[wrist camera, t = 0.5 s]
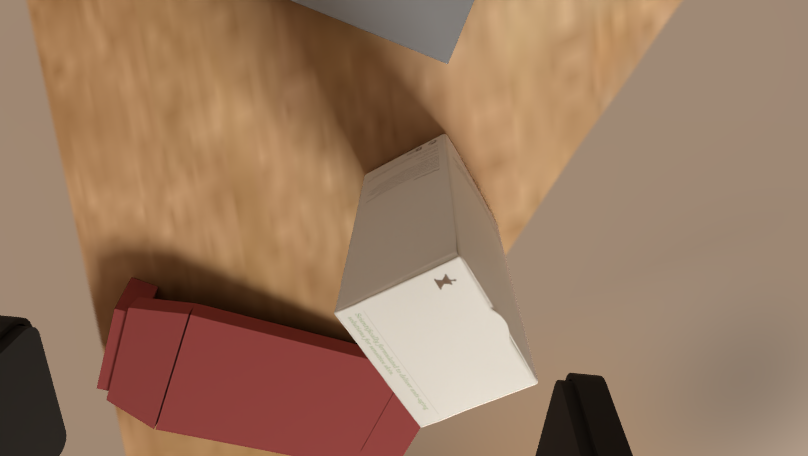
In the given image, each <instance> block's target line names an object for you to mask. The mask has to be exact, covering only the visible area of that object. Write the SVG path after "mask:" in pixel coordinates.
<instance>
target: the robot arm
mask: <svg viewBox="0 0 808 456" xmlns="http://www.w3.org/2000/svg"><path fill="white" fill-rule="evenodd" d="M65 442H66V430H65V426H64V423H63V419H62V415H61V412H60V408H59V404H58V400H57V397H56V393H55V389H54V386H53V382H52V378H51V374H50V371H49V367H48V364H47V360H46V356H45V352H44V349H43V345H42V342H41V337H40V334H39V331H38V330H37V329H36V328H35V327H32V325H31V324H30V321H28V320H27V319H26V318H21V317H11V316H1V315H0V456H59V455H60V454H61V452H62V450H63V448H64V445H65ZM536 456H633V455H632V452H631V450H630V447H629V444H628V441H627V439H626V436H625V433H624V431H623V428H622V425H621V422H620V420H619V417H618V414H617V412H616V409H615V406H614V403H613V401H612V398H611V395H610V392H609V390H608V387H607V384H606V382H605V380H604V378H603V377H602V376H597V375H587V374H577V373H569V374H568V375H567V377H566V380H565V381H564V380H557V381H556V384H555V386H554V390H553V394H552V397H551V401H550V405H549V409H548V412H547V415H546V419H545V423H544V427H543V430H542V434H541V438H540V442H539V445H538V449H537V452H536Z"/></svg>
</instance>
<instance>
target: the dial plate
mask: <svg viewBox="0 0 808 456" xmlns="http://www.w3.org/2000/svg"><path fill="white" fill-rule="evenodd" d="M291 1H293V2H296V3H298V4H301V5H303V6H306V7H308V8H311V9H313V10H316V11H318V12H321V13H323V14H325V15H328V16H330V17H333V18H335V19H338V20H340V21H343V22H345V23H348V24H350V25H353V26H355V27H358V28H360V29H363V30H365V31H367V32H370V33H372V34H375V35H377V36H380V37H382V38H385V39H387V40H390V41H392V42H395V43H397V44H400V45H402V46H404V47H407V48H409V49H412V50H414V51H417V52H419V53H422V54H424V55H427V56H429V57H432V58H434V59H437V60H439V61H441V62H444V63H446V64H448V63H449V60H450V58H451V55H452V53H453V50H454V48H455V46H456V43H457V41H458V38H459V36H460V33H461V31H462V29H463V26H464V24H465V21H466V19H467V16H468V14H469V12H470V9H471V7H472V4H473V2H474V0H291Z"/></svg>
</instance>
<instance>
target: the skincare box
mask: <svg viewBox="0 0 808 456" xmlns="http://www.w3.org/2000/svg"><path fill="white" fill-rule="evenodd" d="M334 314H335V315H336V317H337V318H338V319H339V321H340V322H341V323H342V324H343V326H344V327H345V328H346V330H347V331H348V332H349V333H350V335H351V336H352V337H353V339H354V340H355V341H356V343H357V344H358V345H359V347H360V348H361V349H362V351H363V352H364V353H365V355H366V356H367V357H368V359H369V360H370V361H371V363H372V364H373V365H374V367H375V368H376V369H377V371H378V372H379V373H380V374H381V376H382V377H383V378H384V380H385V381H386V383H387V384H388V385H389V387H390V388H391V389H392V391H393V392H394V393H395V395H396V396H397V397H398V399H399V400H400V401H401V403H402V404H403V405H404V406H405V408H406V409H407V410H408V412H409V413H410V414H411V415H412V417H413V418H414V419H415V421H416V422H417V423H418V424H419V426H420V427H425V426H427V425H430V424H433V423H436V422H438V421H441V420H444V419H446V418H449V417H451V416H454V415H456V414H459V413H461V412H463V411H466V410H469V409H471V408H474V407H477V406H479V405H482V404H485V403H487V402H490V401H493V400H495V399H498V398H501V397H503V396H506V395H509V394H511V393H514V392H516V391H519V390H522V389H525V388H527V387H530V386H533V385H536V384H537V383H538V380H537V375H536V371H535V367H534V364H533V361H532V356H531V352H530V349H529V345H528V342H527V337H526V334H525V330H524V326H523V322H522V318H521V315H520V311H519V307H518V304H517V299H516V295H515V292H514V288H513V284H512V280H511V276H510V273H509V269H508V265H507V262H506V258H505V254H504V250H503V246H502V242H501V238H500V234H499V229H498V226H497V224H496V221H495V220H494V218H493V216H492V214H491V212H490V210H489V208H488V206H487V205H486V203H485V201H484V199H483V197H482V196H481V194H480V192H479V190H478V188H477V186H476V185H475V183H474V181H473V179H472V177H471V176H470V174H469V172H468V170H467V168H466V167H465V165H464V163H463V161H462V159H461V158H460V156H459V154H458V152H457V151H456V149H455V147H454V146H453V144H452V142H451V141H450V139H449V137H448V136H447V135H446V134H442V135H440V136H438V137H436V138H434V139H432V140H430V141H429V142H427V143H425V144H423V145H421V146H419V147H417V148H415V149H413V150H411V151H409V152H407V153H405V154H403V155H401V156H399V157H398V158H396V159H394V160H392V161H390V162H388V163H386V164H384V165H382V166H381V167H379V168H377V169H375V170H373V171H371V172H369V173H367V174H366V175H365V176H364V181H363V186H362V190H361V195H360V200H359V204H358V209H357V213H356V218H355V222H354V227H353V232H352V236H351V241H350V245H349V250H348V255H347V259H346V263H345V268H344V272H343V277H342V281H341V287H340V291H339V295H338V300H337V305H336V309H335V312H334Z"/></svg>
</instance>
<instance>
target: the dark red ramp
mask: <svg viewBox="0 0 808 456" xmlns="http://www.w3.org/2000/svg"><path fill="white" fill-rule="evenodd" d="M157 289H158V287H157V286H154V285H152V284H149V283H146V282H143V281H141V280H138V279H135V278H131V280H130V281H129V283H128V285H127V287H126V289H125V290H124V292H123V294H122V296H121V298H120V300H119V301H118V303H117V305H116V307H115V309H114V313H113V318H112V322H111V327H110V331H109V336H108V340H107V345H106V349H105V354H104V358H103V363H102V367H101V371H100V376H99V380H98V385H97V388H98V389H103V390H107V391H109V392H108V396H107V400H108V401H109V402H111V403H112V404H114V405H116V406H117V407H119V408H121V409H122V410H124V411H125V412H127V413H129V414H130V415H132V416H134V417H135V418H137V419H138V420H140V421H142V422H143V423H145V424H147V425H148V426H150V427H151V428H153V429H154V428H155V426H156V424H157V427H156V429H157V430H162V431H167V432H172V433H178V434H183V435H188V436H193V437H198V438H203V439H209V440H214V441H219V442H224V443H229V444H234V445H240V446H245V447H250V448H255V449H260V450H265V451H271V452H276V453H281V454H286V455H291V456H403V455H404V453H405V452H406V450H407V448H408V447H409V445H410V444H411V442H412V440H413V439H414V437H415V435H416V434H417V432H418V431H419V429H420V426H419V424H418V423H417V422H416V421H415V419H414V418H413V417H412V415H411V414H410V413H409V412H408V410H407V409H406V408H405V406H404V405H403V404H402V403H401V401H400V400H399V399H398V397H397V396H396V395H395V393H394V392H393V391H392V389H391V388H390V387H389V385H388V384H387V383H386V381H385V380H384V378H383V377H382V376H381V374H380V373H379V372H378V371H377V369H376V368H375V367H374V365H373V364H372V363H371V361H370V360H369V359H368V357H367V356H366V355H365V353H364V352H363V351H362V349H361V348H360V347H359V345H357V344H354V343H350V342H346V341H342V340H338V339H334V338H330V337H326V336H322V335H318V334H314V333H311V332H307V331H303V330H299V329H295V328H291V327H287V326H283V325H279V324H275V323H271V322H268V321H264V320H260V319H256V318H252V317H248V316H244V315H240V314H236V313H232V312H229V311H225V310H221V309H217V308H213V307H209V306H205V305H201V304H197V303H188V302H179V301H170V300H161V299H155V296H156V292H157Z"/></svg>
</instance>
